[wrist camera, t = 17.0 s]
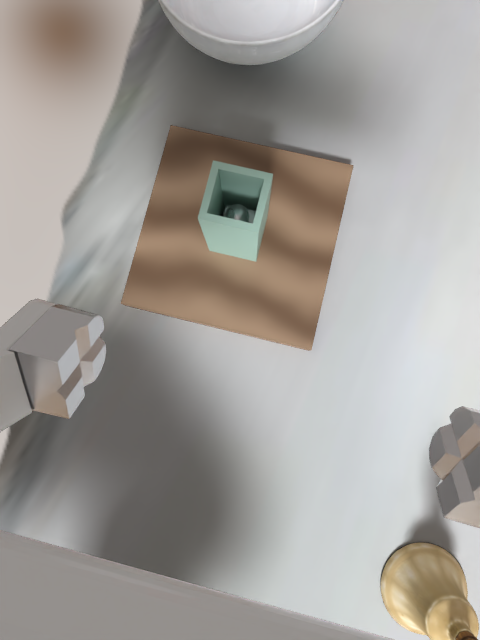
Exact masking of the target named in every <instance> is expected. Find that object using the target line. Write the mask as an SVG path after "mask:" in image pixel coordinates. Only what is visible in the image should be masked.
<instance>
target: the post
mask: <svg viewBox="0 0 480 640" xmlns="http://www.w3.org/2000/svg"><path fill="white" fill-rule="evenodd" d="M255 214H256V211H253V210H249V209H247V208H246V207H244V206H243V205H240V204H234V205H227V204H226V208H225V212H224V216H223V217H226V218H231V219H235V220H239V221H244V222H248V223H252V224H253V222H254V218H255Z"/></svg>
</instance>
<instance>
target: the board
mask: <svg viewBox="0 0 480 640" xmlns="http://www.w3.org/2000/svg"><path fill="white" fill-rule="evenodd" d="M213 160H214V161H218V162H223V163H227V164H231V165H236V166H240V167H245V168H249V169H254V170H258V171H263V172H267V173H272V174H273V179H272V187H271V194H270V202H269V209H268V216H267V220H266V225H265V229H264V233H263V237H262V241H261V245H260V249H259V253H258V257H257V261H256V262H255V261H251V260H247V259H242V258H238V257H234V256H230V255H226V254H221V253H217V252H213V251H209V248H208V245H207V243H206V240H205V237H204V234H203V232H202V229H201V226H200V223H199V221H198V215H199V211H200V208H201V204H202V200H203V196H204V193H205V189H206V185H207V182H208V178H209V174H210V170H211V167H212V163H213ZM352 169H353V165H349V164H345V163H340V162H336V161H331V160H327V159H322V158H318V157H313V156H308V155H304V154H299V153H295V152H290V151H286V150H281V149H277V148H272V147H268V146H263V145H259V144H254V143H250V142H245V141H241V140H236V139H231V138H227V137H222V136H218V135H213V134H209V133H204V132H200V131H195V130H191V129H186V128H182V127H177V126H173V125H171V126H170V130H169V133H168V137H167V140H166V144H165V148H164V151H163V155H162V158H161V162H160V165H159V169H158V173H157V176H156V180H155V183H154V187H153V190H152V194H151V197H150V201H149V205H148V208H147V212H146V215H145V219H144V222H143V226H142V229H141V233H140V237H139V240H138V244H137V247H136V251H135V254H134V258H133V261H132V265H131V269H130V272H129V276H128V279H127V283H126V286H125V290H124V293H123V297H122V301H121V304H123V305H125V306H129V307H133V308H138V309H142V310H146V311H150V312H154V313H158V314H162V315H166V316H170V317H174V318H178V319H182V320H186V321H190V322H195V323H199V324H203V325H207V326H211V327H215V328H219V329H223V330H227V331H231V332H235V333H239V334H243V335H247V336H252V337H256V338H260V339H264V340H268V341H272V342H276V343H280V344H284V345H288V346H292V347H296V348H300V349H304V350H311V349H312V345H313V340H314V336H315V331H316V327H317V323H318V318H319V314H320V310H321V305H322V301H323V296H324V292H325V288H326V283H327V279H328V274H329V270H330V266H331V261H332V257H333V253H334V248H335V244H336V239H337V235H338V231H339V226H340V222H341V218H342V213H343V209H344V204H345V200H346V196H347V191H348V187H349V182H350V178H351V174H352Z"/></svg>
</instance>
